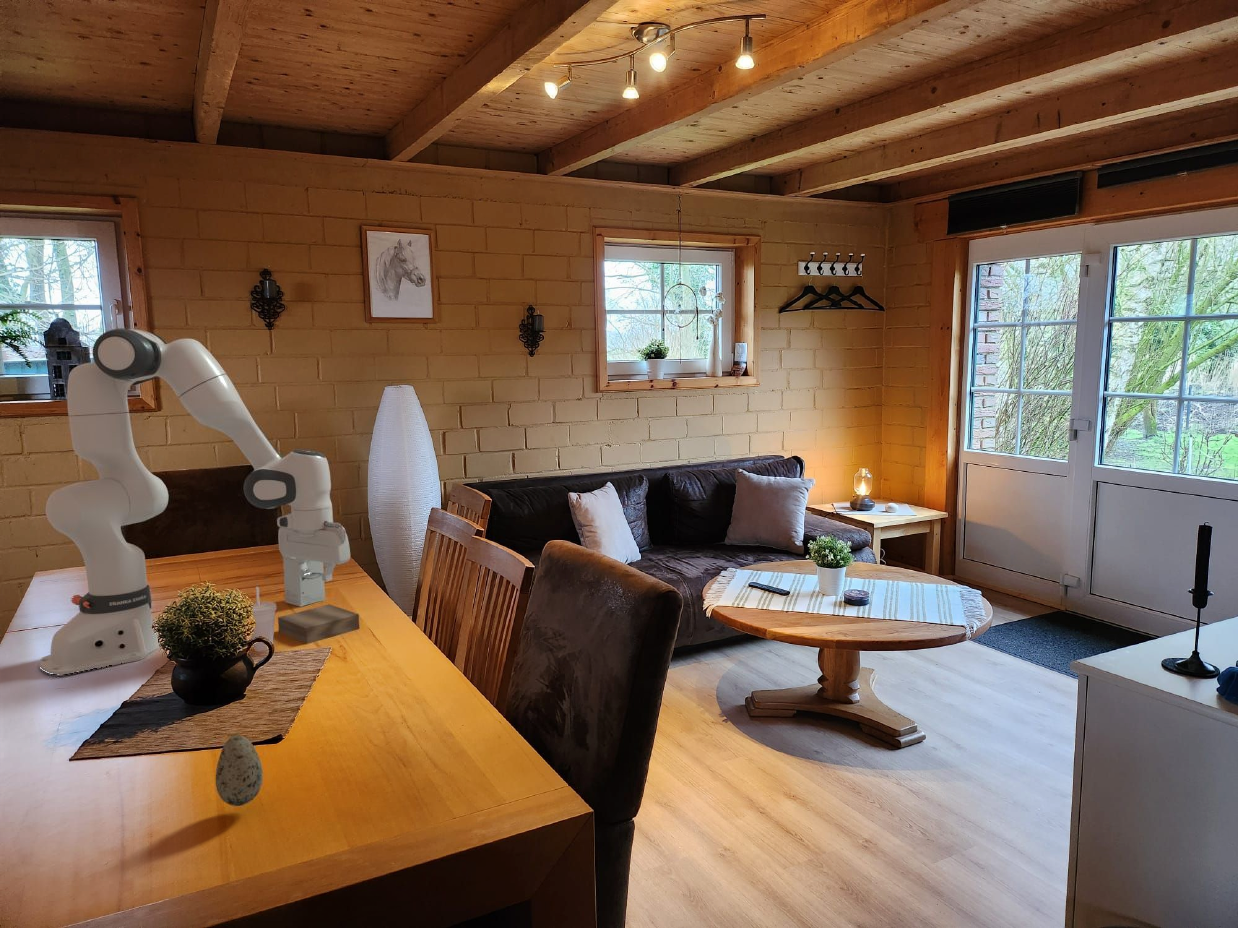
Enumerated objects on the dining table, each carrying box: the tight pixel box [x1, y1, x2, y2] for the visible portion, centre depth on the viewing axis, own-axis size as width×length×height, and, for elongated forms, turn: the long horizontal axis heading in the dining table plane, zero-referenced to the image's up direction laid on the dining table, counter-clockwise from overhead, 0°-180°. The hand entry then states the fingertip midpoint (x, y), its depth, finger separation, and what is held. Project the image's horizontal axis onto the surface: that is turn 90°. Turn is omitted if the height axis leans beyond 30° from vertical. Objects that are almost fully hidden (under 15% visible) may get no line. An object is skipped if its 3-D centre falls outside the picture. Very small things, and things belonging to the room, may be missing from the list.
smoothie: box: [251, 586, 278, 653], centre depth 175 cm, size 6×6×14 cm
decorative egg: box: [215, 734, 264, 807], centre depth 112 cm, size 6×6×10 cm
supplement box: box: [282, 556, 326, 608], centre depth 210 cm, size 7×7×13 cm
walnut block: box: [277, 604, 361, 645], centre depth 187 cm, size 13×13×4 cm
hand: (316, 578), depth 186 cm, fingers open, 6 cm apart
